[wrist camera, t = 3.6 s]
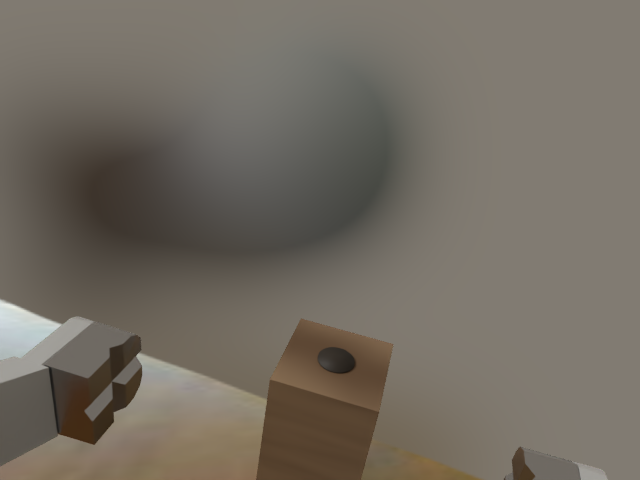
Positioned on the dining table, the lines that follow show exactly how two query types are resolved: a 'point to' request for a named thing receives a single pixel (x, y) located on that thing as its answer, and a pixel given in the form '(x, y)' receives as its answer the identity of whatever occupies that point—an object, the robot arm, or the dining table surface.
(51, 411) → the robot arm
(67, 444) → the dining table surface
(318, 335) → the block
